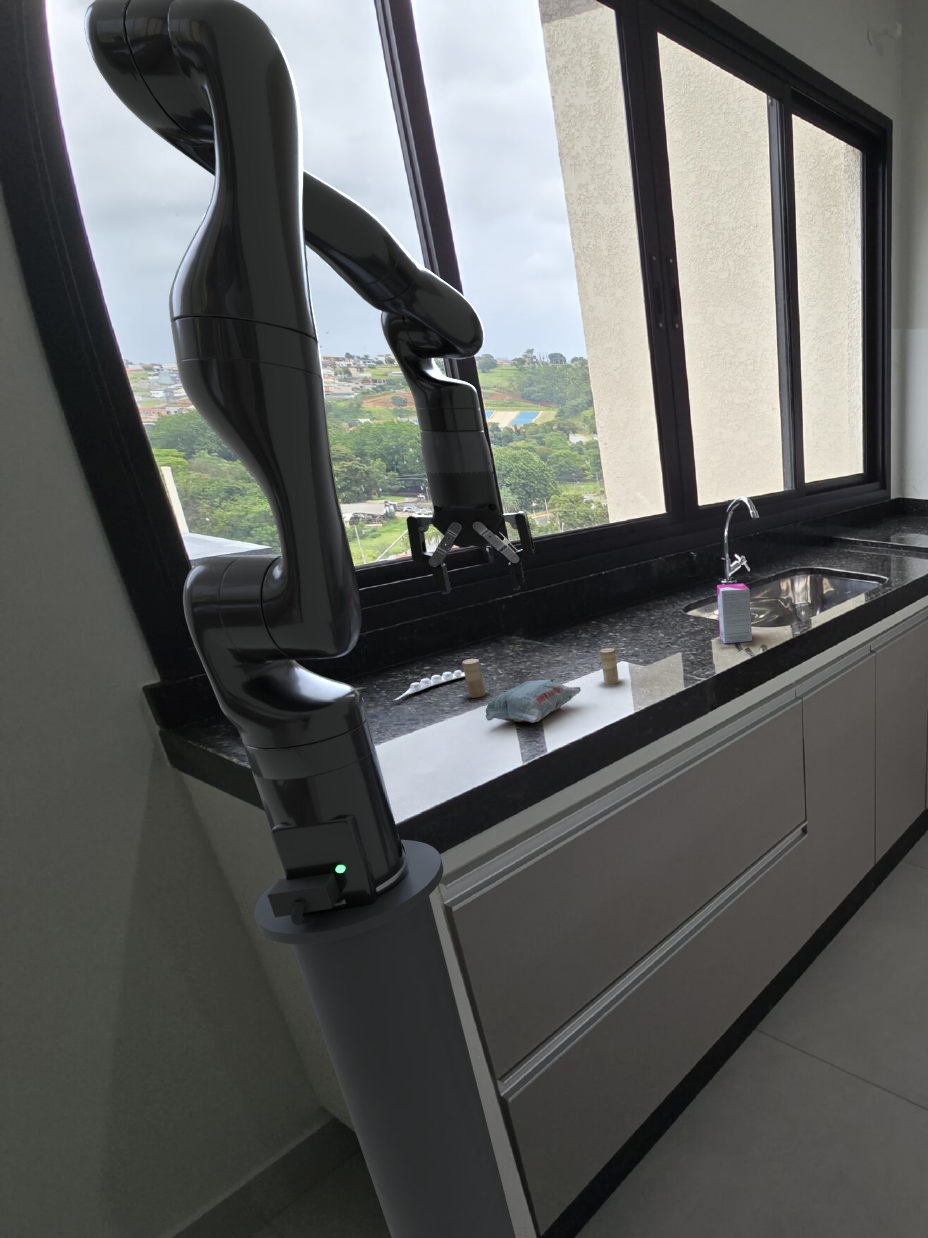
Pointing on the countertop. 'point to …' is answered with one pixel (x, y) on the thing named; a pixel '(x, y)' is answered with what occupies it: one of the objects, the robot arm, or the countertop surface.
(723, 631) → the supplement box
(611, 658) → the marker peg right
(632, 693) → the countertop surface
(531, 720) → the packaged food
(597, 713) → the countertop surface
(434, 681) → the pea pod
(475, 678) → the marker peg left
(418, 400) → the robot arm
